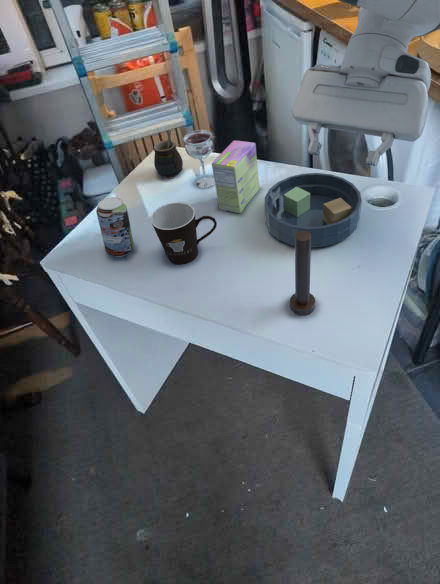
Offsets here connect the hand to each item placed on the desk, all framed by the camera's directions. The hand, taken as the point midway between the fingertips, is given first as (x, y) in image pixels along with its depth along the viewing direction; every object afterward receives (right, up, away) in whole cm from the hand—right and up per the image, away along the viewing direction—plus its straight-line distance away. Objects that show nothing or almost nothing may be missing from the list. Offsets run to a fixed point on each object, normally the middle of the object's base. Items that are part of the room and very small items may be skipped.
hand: (340, 159), depth 68 cm
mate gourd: (-32, +10, +45) cm, 56 cm away
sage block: (-2, -3, +26) cm, 27 cm away
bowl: (0, -6, +24) cm, 25 cm away
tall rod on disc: (-4, -23, +8) cm, 25 cm away
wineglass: (-22, +6, +40) cm, 46 cm away
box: (-14, +1, +33) cm, 36 cm away
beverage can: (-40, -12, +26) cm, 49 cm away
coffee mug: (-25, -13, +22) cm, 36 cm away
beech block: (+5, -6, +22) cm, 23 cm away
